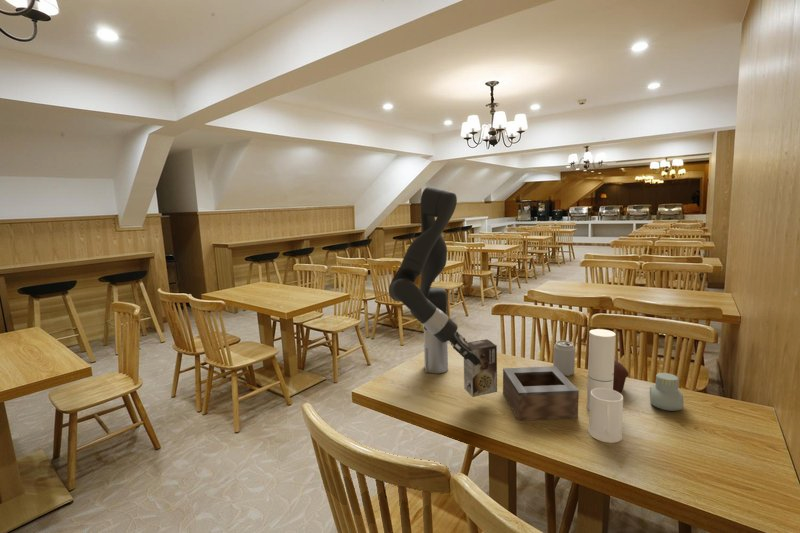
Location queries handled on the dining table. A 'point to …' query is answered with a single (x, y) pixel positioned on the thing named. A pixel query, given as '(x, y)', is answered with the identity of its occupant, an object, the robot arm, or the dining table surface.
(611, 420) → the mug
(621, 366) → the muffin
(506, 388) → the drop box
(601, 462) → the dining table surface
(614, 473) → the dining table surface
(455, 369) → the dining table surface
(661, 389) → the air freshener
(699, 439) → the dining table surface
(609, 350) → the cylindrical container
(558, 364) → the can
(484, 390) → the coffee box
